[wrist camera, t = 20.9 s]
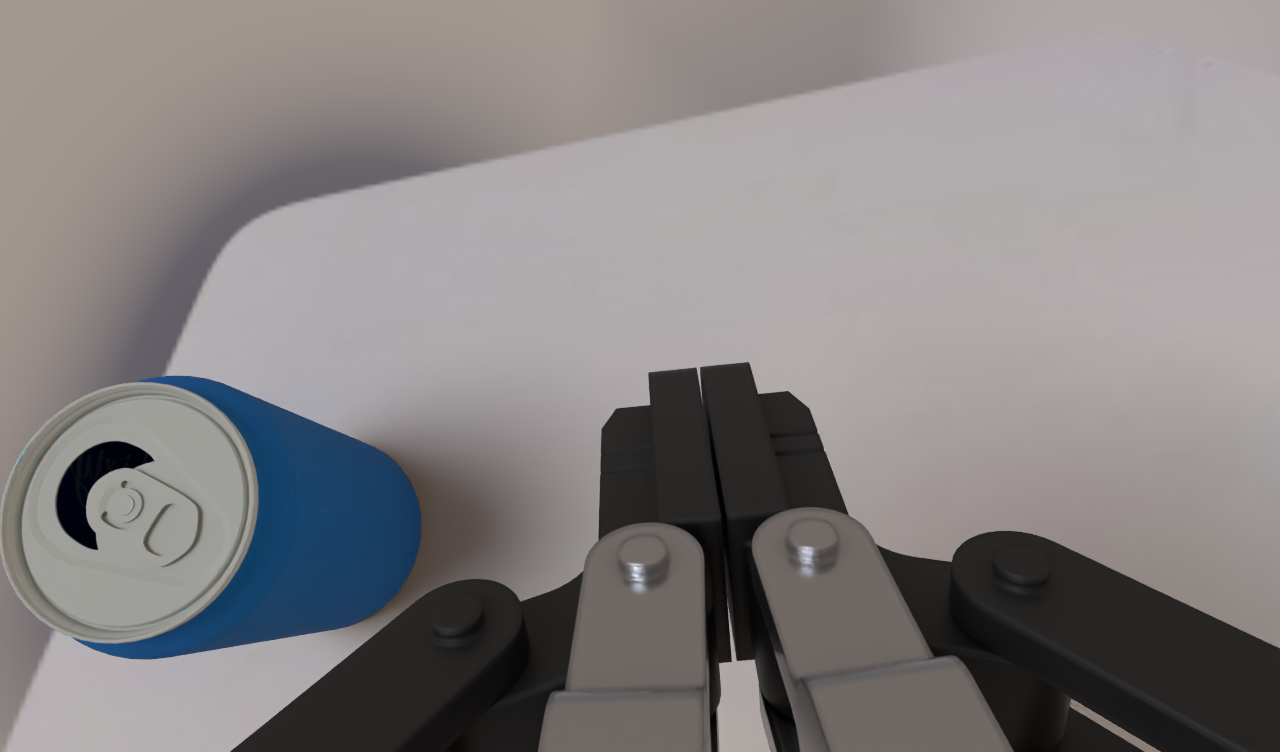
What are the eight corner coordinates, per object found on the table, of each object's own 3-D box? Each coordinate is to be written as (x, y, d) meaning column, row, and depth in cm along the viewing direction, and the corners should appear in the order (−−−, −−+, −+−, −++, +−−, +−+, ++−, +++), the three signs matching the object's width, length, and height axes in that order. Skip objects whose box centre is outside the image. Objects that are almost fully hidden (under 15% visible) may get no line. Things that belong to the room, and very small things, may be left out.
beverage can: (308, 410, 31) (91, 314, 20) (461, 493, 31) (330, 443, 19) (209, 573, 30) (-83, 574, 19) (366, 663, 29) (163, 724, 18)
